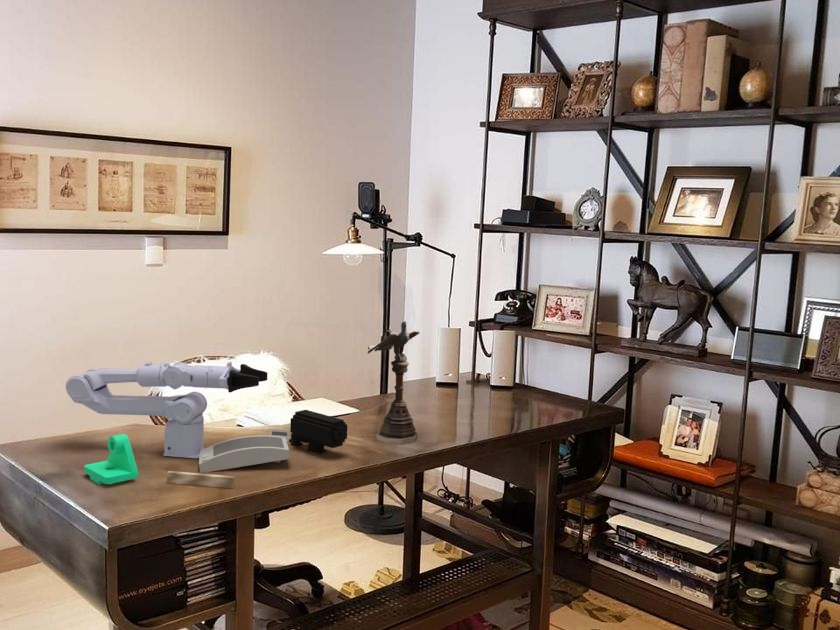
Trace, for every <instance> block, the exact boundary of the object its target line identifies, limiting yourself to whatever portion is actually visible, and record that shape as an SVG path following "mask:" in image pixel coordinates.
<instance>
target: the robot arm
mask: <svg viewBox="0 0 840 630" xmlns="http://www.w3.org/2000/svg"><path fill="white" fill-rule="evenodd" d="M266 381H268V372H267V371H264V370H260V369H256V368H253V367H251V366H250V365H247V364H245V363H242V364H241V363H240V368H238V369H237V367H234V366H233V363H232V361H227V362H226V366H223V365H200V364H199V365H197V364H196V365H190V364H189V365H188V364H186V363H185V362H180V361H178V362H175V363H174V364H172V365H171V364H170V362H165V363H164V364H153V363H152V362H151V361H149V362H145V363H144V364H142V365H140V366H139V367H138V368H137V369H133V368H132V369H131V368H129V369H127V368H97V369H93V368H92V369H88V370H86V371H85V372H82V373H80V374H77V375H73V376H71V377H69V378H68V380H67V381H66V384H65V390H66V393H67V394H68V397H70V399H71V400H72V402H74V403H76V404H79V405H80V404H81V405H83V406H85V407H87V408H88V409H90V410H92V411H94V412H95V413H97V414H100V415H122V416H153V417H154V416H156V417H158V416H159V417H161V416H162V417H163V416H164V417H165V418H166V419H168V421H167V422H166V423H165V427H164V453H163V456H164V457H176V458H187V459H199V455H200V451H201V450H203V449H205V448H206V447H204V445H205V444H204V442H205V439H204V437H205V436H204V431H205V428H204V427H205V424H204V423H205V421H204V419H205V418H204V413H205V411H206V410H207V408H208V407H207V406H208V401H207V398H206V396H205V395H204V394H203V393H201V392H198V391H190V392H189V393H186V394H178V395H172V396H171V395H170V396H164V395H163V396H157V395H155V396H153V395H126V394H125V395H121V394H120V395H118V394H112V392H111V390H110V389H109V386H108V384H120V383H121V384H122V383H123V384H124V383H126V384H127V383H137V384H138V385H139V386H140V387H143V388H144V387H145V388H153V387H154V388H155V387H156V388H158V387H160V388H162V387H165V388H166V387H169V388H170V389H172V390H177V389H180V388H181V387H190V388H191V387H192V388H202V389H203V388H205V389H207V388H208V389H225V390H227V392H228V393H233V392H235V391H238V390H242V389H247V388H254V387H258V386H260V382H266Z"/></svg>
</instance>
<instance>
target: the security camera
mask: <svg viewBox="0 0 840 630" xmlns="http://www.w3.org/2000/svg"><path fill="white" fill-rule="evenodd" d="M289 430H290V439H289V442H288V443H290V446H292V447H295V448H298V447H302V446H303V445H304V444H307V451H308V452H311V453H314V454H317V455H323V454H326V453H327V450H326V449H325V447H327V448H330V449H334V448H339V447H342V446H343V445H344V443H345V442H346V440H347V439H348V424H346V422H345V421H344V419H341V418H338V417H335V416H331V415H326V414H323V413H318V412H315V411H312V410H309V409H302V410H298V411H295V412H294V414H292V417H291V418H290V429H289Z"/></svg>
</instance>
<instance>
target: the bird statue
mask: <svg viewBox="0 0 840 630" xmlns="http://www.w3.org/2000/svg"><path fill="white" fill-rule="evenodd" d="M400 324H401V325H400V328H401V331H400V333H398V332H393V330H392V328H391V326H389V328H388V330H387V332H388V336H387V337H385V339H383V340H382V341H381V342H379V343H378V344H376V345H368V347H367V349H368V351H367V354H368V355H369V354H370V353H371V352H373V351H374V352H378V351H381V352H383V351H386V350H387V351H388V350H392V349H393V352H394V358H393V359H394V360H393V361H391V363H390V364H391V371H392V372H393V373H394V374H395V386H393V387H394V388H393V389H395V393H394V394H395V398H394V400H393V401H392V402H391V404H390V408H389V410H388V412H387V413H386V415H385V416H384V417H383V419H382V421H383V423H382V425H381V427H380V429H379V430H378V431H377V433H376V440H377V441H379V442H382V443H384V444H388V445H400V446H401V445H407V444H412V443H416V441H417V439H418V438H417V437H418V432H417V431H416V428H415V425H414V422H413V421H414V418H412V415H411V414H410V412H409V409H408V406H407V405H408V404H407V403H406V401H404V397H403V395H404V389H405V386H404V375H405V373H407V372H408V366H409V364H410V363H409V361H407V356H406V354H405V353H404V350H405V345H406V344H407V343H408V342H409V341H410V340H412V339H413V338H415V337H416V336H418V335H419V334H421V333H420V331H419V330H413V331H411V332H409V331H408V329H407V321H402V322H401V323H400Z"/></svg>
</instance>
